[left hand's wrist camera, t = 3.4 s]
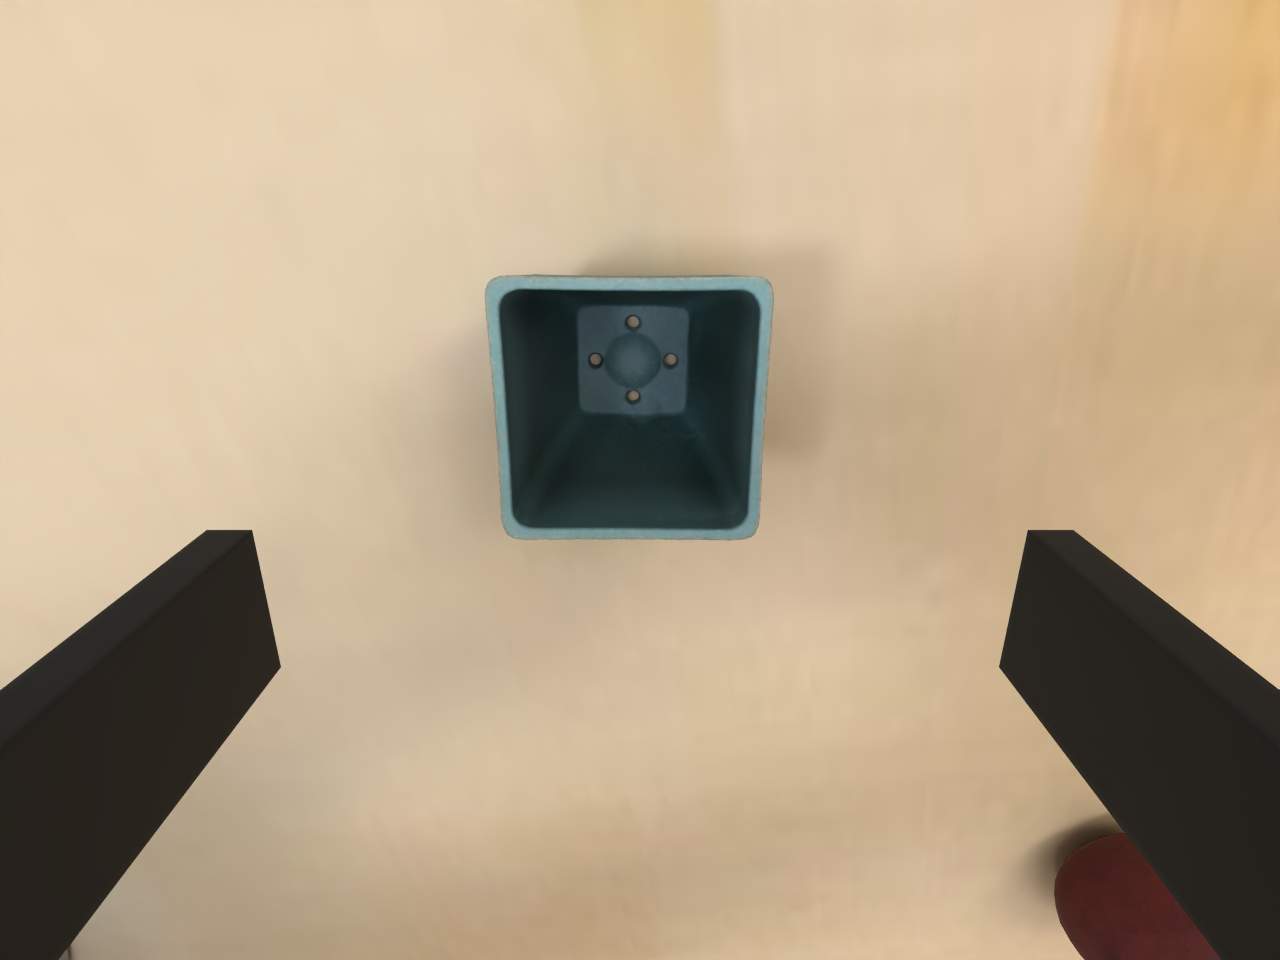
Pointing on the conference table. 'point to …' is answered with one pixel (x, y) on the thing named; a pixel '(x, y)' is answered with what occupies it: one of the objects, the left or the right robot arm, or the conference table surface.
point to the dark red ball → (1123, 907)
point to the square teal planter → (630, 404)
